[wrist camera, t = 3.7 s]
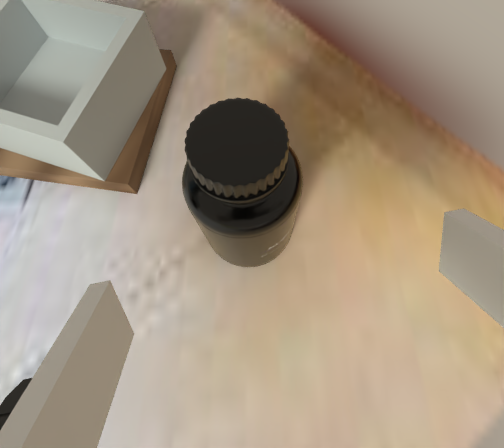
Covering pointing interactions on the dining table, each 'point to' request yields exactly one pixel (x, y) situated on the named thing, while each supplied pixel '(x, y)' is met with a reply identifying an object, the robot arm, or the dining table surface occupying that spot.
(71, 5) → the grey square open box
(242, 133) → the supplement bottle
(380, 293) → the dining table surface
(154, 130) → the walnut plinth
